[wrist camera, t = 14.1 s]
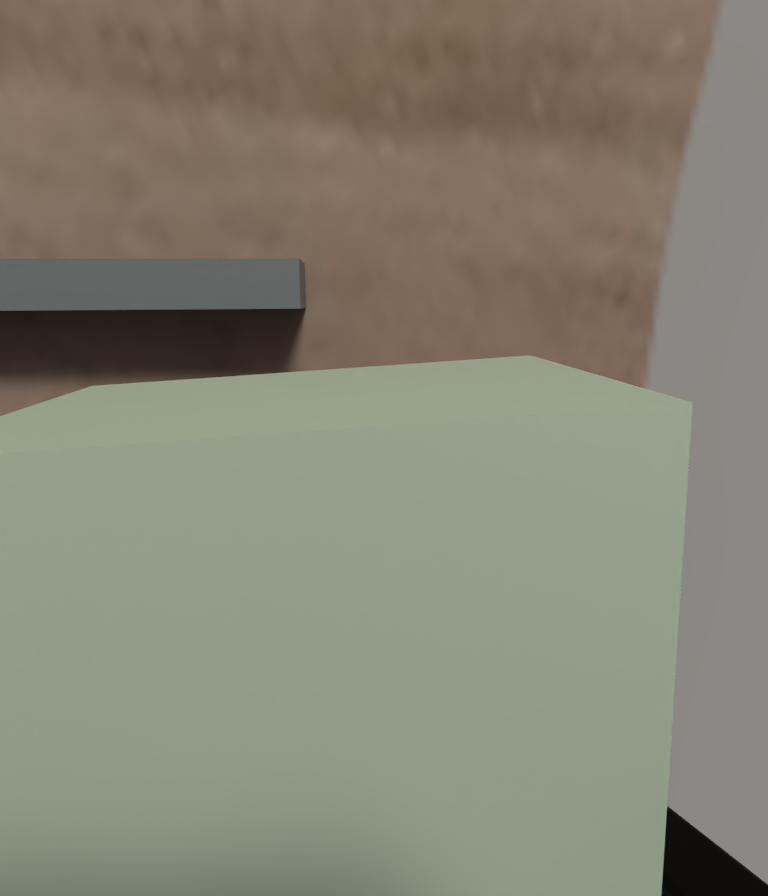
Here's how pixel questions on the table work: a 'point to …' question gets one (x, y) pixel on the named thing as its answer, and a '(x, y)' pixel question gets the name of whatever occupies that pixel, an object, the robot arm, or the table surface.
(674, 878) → the robot arm
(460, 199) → the table surface
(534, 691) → the block
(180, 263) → the channel
